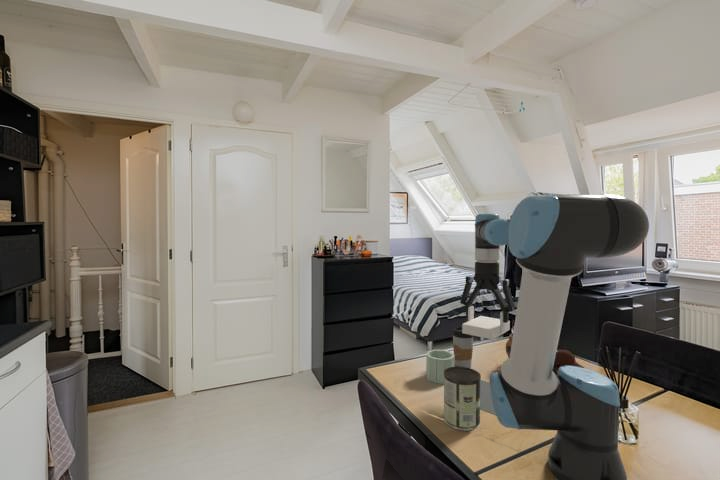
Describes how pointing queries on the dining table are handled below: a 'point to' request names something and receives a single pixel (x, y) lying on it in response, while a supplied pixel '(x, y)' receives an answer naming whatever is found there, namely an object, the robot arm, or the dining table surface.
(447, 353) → the ribbed green pot
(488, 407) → the mat
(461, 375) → the coffee can
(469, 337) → the coffee cup
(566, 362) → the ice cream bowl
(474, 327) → the lid
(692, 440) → the dining table surface
